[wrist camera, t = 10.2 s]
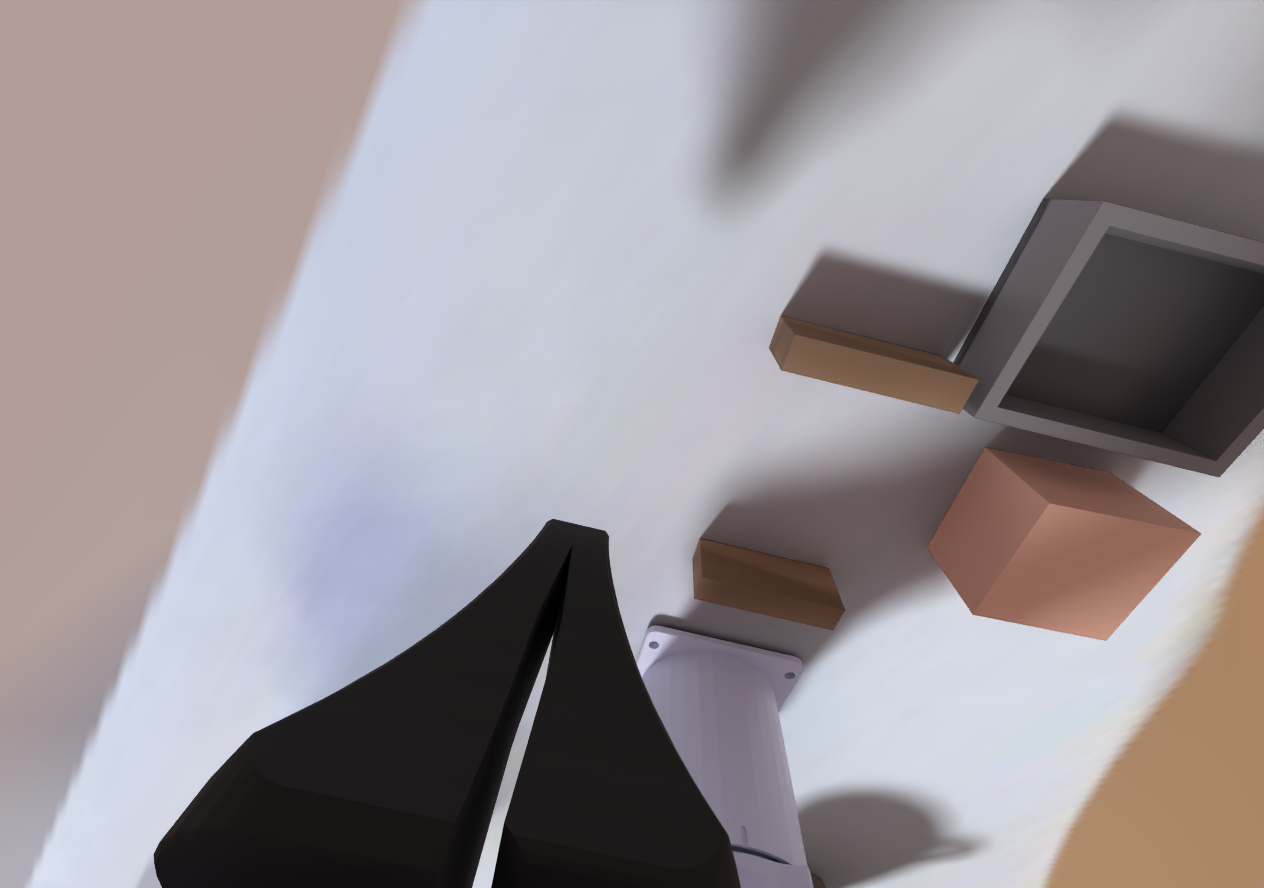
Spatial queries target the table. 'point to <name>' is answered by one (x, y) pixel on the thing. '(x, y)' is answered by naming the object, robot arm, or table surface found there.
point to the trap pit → (1125, 336)
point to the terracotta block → (1055, 544)
